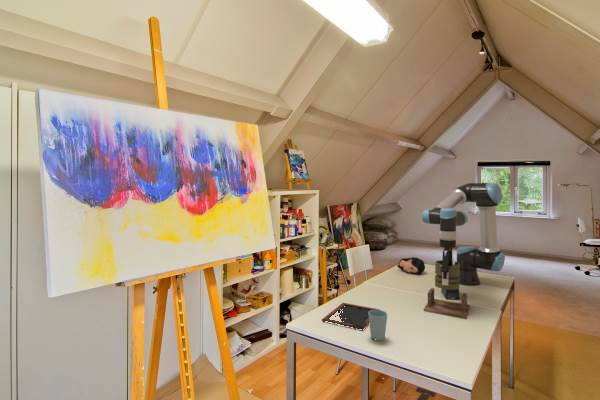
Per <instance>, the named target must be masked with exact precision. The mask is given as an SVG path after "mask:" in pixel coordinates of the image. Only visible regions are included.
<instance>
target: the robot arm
mask: <svg viewBox="0 0 600 400" xmlns="http://www.w3.org/2000/svg"><path fill="white" fill-rule="evenodd" d="M502 198H503V193H502V189H501V187H500V185H499V184H498V183H496V182H470V183H465V184H461V185H459V186H458V187H456V188H455V189H453V190H452V191H451V192H450V194H449V195H448V196H447V197H446V198H445V199H444V200H442V201H441V202H439V203H438V204H437V205H436V206H435V207H433V208H432V209H425V210H424V211H423V212H422V214H421V219H422V222H423V223H425V224H430V225H439V232H438V234H439V247H440V248H443V250H442V259H441V260H442V269H441V272H442V285H447V286H448V266H451V265H454V262H453V249H455V248H456V246H457V240H456V239H457V227H460V226H464V225H466V224H467V223H468V220H469V218H468V215H467V213H466V212H464V211H460V210H456V208H457V207H458V206H460V205H463V204H464V203H475V207H477V208H478V211H479V213H478V214H479V217H478V218H479V230H480V231H479V232H480V246H479V247H478V246H475V245H474V246H473V245H471V246H470V245H468V246H467V245H466V246H459V247H458V248H457V249H456V262H458V263H460V275H459V276H458V277H459V278H460V281H459V282H460V283H459V285H463V286H478V285H480V283H481V280H480V277H479V274H478V269H480V270H487V271H490V272H500V271H501V270H502V269H503V266H504V264H505V260H506V256H505V252H502V251H501V248H500V247H499V246H498V231H497V212H496V211H497V210H496V208H497V207H498V206H499V204H500V203H501V202H502V200H503V199H502Z"/></svg>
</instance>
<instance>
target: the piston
mask: <svg viewBox="0 0 600 400" xmlns="http://www.w3.org/2000/svg"><path fill="white" fill-rule="evenodd" d="M434 263H435V265H434V267H435V268H434V274H435V275H434V286H435V287H436V288H437V289H438V288H439V289H441V288H442V289H448V290H456V289H459V290H460V284H459V283H460V282H459V281H460V278H459V277H458V276H459V275H460V263H458V262H457V261H454V263H453V265H451V266H448V286H447V285H442V272H441V269H442V259H439V260H435V262H434Z"/></svg>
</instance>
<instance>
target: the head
mask: <svg viewBox="0 0 600 400" xmlns="http://www.w3.org/2000/svg"><path fill="white" fill-rule="evenodd" d="M397 268H399V270H402V271H403V272H407V273H409V274H412V275H419V274H422V273H423V272H425V269H426V265H425V262H424V260H423V259H420V258H419V257H406V258H401V259H400V260H399V263H398V265H397Z"/></svg>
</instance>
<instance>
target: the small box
mask: <svg viewBox="0 0 600 400" xmlns="http://www.w3.org/2000/svg"><path fill="white" fill-rule="evenodd" d="M440 290H441V293H442V295H443V296H444V298H445V299H446V300H447V301H450V300H451V301H453V300H454V301H459V300H460V288H459V289H456V290H448V289H442V288H440Z"/></svg>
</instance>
